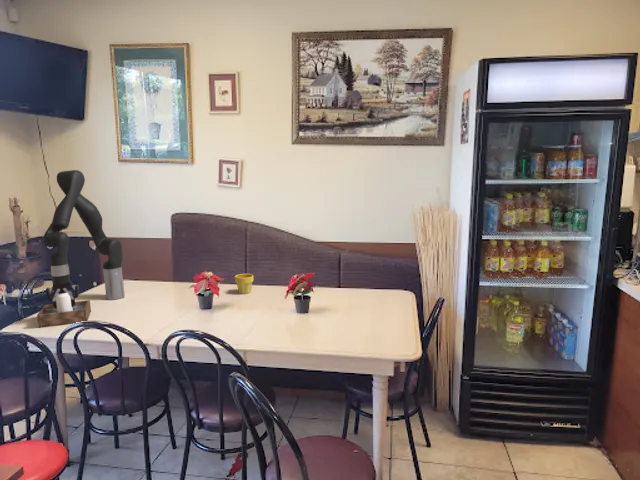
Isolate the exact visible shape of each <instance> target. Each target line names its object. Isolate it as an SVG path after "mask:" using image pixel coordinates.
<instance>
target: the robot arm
mask: <svg viewBox="0 0 640 480" xmlns="http://www.w3.org/2000/svg"><path fill="white" fill-rule="evenodd" d="M85 180H86V179H85V176H84V173H83V172H82V171H80V170H78V169H77V170H76V169H73V170H72V169H71V170H63V171H59V172H58V173H57V175H56V183H57V185H58V187H59V188H60V190H61V191H62V192H63V193H64V195H65V196H64V197H63V199H62V200H61V201H60V203H59V204H58V205H57V207H56V208H55V211H54V213H53V217H52V221H51V223H50V225H49V226H48V227H47V230H46V231H45V232H44V235H43V237H42V238H43V244H44V246H46V248H47V247H48V248H57V251H54V252H51V253H50V254H49V261H50V275H51V281H52V283H51V284H52V286H51V287H46V288H45V293H46V296H47V300H48V301H49V302H50V301H52V304H53V305H54V308H55V309H57V304H56V296H57V293H66V292H67V293H69V294H68V295H69V296H70V298H71V305H72V307H74V305H75V302H76V299H77V298H78V297H79V296H80V295H79V294H80V293H79V292H80V291H79V290H80V289H79V287H80V285H79V284H72V283H71V282H72V281H71V275H70V267H69V261H68V250H69V244H70V237H69V235H68V234H67V233H66V232H63V230H66V229H68V228H69V225H70V222H71V218H72V213H73V211H74V209H75V211H76V212H77V214H78V216H79V218H80V219H81V221H82V223H83V224H84V226H85V227H86V229H87V231H88V232H89V235H90V236H91V238H92V240H93V242H94V245H95V247H96V249H97V251H98V252H99V253H100V254H101V255H103V256H107V259H108V260H107V261H104V262H103V263H102V270H103V271H102V272H103V279H104V290H105V297H106V300H111V301H112V300H120V299H124V298H125V296H126V295H125V284H124V283H125V282H124V279H123V278H124V276H123V268H122V267H123V266H122V263H123V247H122V246H123V245H122V243H121V241H120V240H119V239H116V238H108V237H107V236H106V233H105V232H104V230H103V217H102V215H101V213H100V211H99V209H98V207H97V206H96V205H95V204H94V203H93V202H92V201H90V200H89V199H88V198H86V197H85V196H83V195H82V193H81V192H82V190H83V188H84V185H85V182H86V181H85ZM72 289H73V290H74V293H73V292H72ZM52 291H53V292H55V294H54V295H53V297H52Z"/></svg>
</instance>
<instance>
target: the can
mask: <svg viewBox="0 0 640 480" xmlns="http://www.w3.org/2000/svg"><path fill="white" fill-rule="evenodd" d="M68 294H69V293H67V292H66V293H57V296H56V304H57V313H58V312H66V311H73V307H72V305H71V298H70V296H69V295H68Z"/></svg>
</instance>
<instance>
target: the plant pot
mask: <svg viewBox="0 0 640 480" xmlns="http://www.w3.org/2000/svg"><path fill="white" fill-rule="evenodd" d="M234 281H235V283H236V286H237V291H238V293H239V294H241V295H245V294H250V293H251V292H252V285H253V282H254V275H253V274H252V273H239V274H236V275H235V276H234Z"/></svg>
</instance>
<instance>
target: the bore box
mask: <svg viewBox="0 0 640 480" xmlns="http://www.w3.org/2000/svg"><path fill="white" fill-rule="evenodd" d="M91 312H92V309H91V300H89V299H87V300H80V301H79V300H78V301H75V305H74V307H73V311H66V312H58V313H57V309H55V308H54V305H53V303H52V304H45V305H43V307H42V308H41V309H40V310H39V312H38V313H37V314H36V319H37V325H38V329H41V328H50V327H57V326H66V325H73V323H74V324H77V323H76V322H81V321H87V322H88V321H89V318H90V315H91Z"/></svg>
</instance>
